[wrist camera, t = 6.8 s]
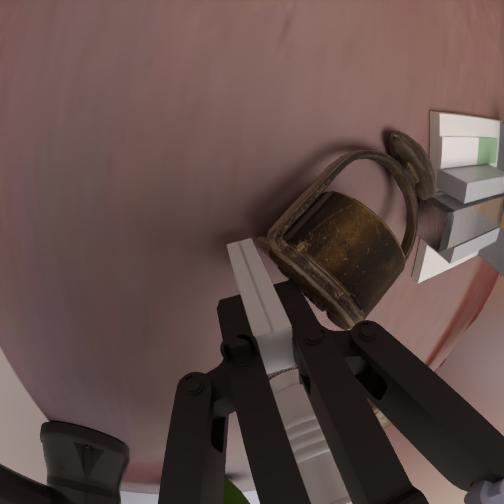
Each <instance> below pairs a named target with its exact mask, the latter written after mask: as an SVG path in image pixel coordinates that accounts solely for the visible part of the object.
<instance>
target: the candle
mask: <svg viewBox="0 0 504 504" xmlns="http://www.w3.org/2000/svg"><path fill="white" fill-rule="evenodd" d="M269 382H270V385H271V388H272V391H273V394H274V397H275V400H276V404H277V407H278V410H279V413H280V416H281V419H282V422H283V425H284V428H285V430H286V433H287V436H288V439H289V442H290V445H291V448H292V451H293V454H294V457H295V460H296V462H297V465H298V468H299V471H300V474H301V477H302V480H303V482H304V485H305V488H306V491H307V493H308V496H309V499H310V502H311V504H346V503H349V502H351V499H350V496H349V494H348V492H347V489H346V487H345V485H344V482H343V480H342V477H341V475H340V473H339V470H338V468H337V466H336V463H335V461H334V458H333V456H332V454H331V451H330V449H329V447H328V444H327V442H326V439H325V437H324V435H323V432H322V430H321V427H320V425H319V423H318V420H317V418H316V416H315V413H314V411H313V408H312V406H311V404H310V401H309V399H308V396H307V394H306V392H305V389H304V387H303V384H301V385H300V383H299V371H298V369H292V370H289V371H286V372H283V373H281V374H279V375H277V376H275V377H274V378H272V379H271V380H270V381H269Z"/></svg>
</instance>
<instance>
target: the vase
mask: <svg viewBox="0 0 504 504" xmlns="http://www.w3.org/2000/svg"><path fill="white" fill-rule="evenodd" d="M223 504H250V503H249V502H248V500H247V499H246V497H245V496H244V495H243V493H242V492H241V491H240V490H239V489H238V488H237V487H236V486H235V485H234V484H233V483H232V482H231V481H229V480H228V479H226V478H225V480H224V497H223Z"/></svg>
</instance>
